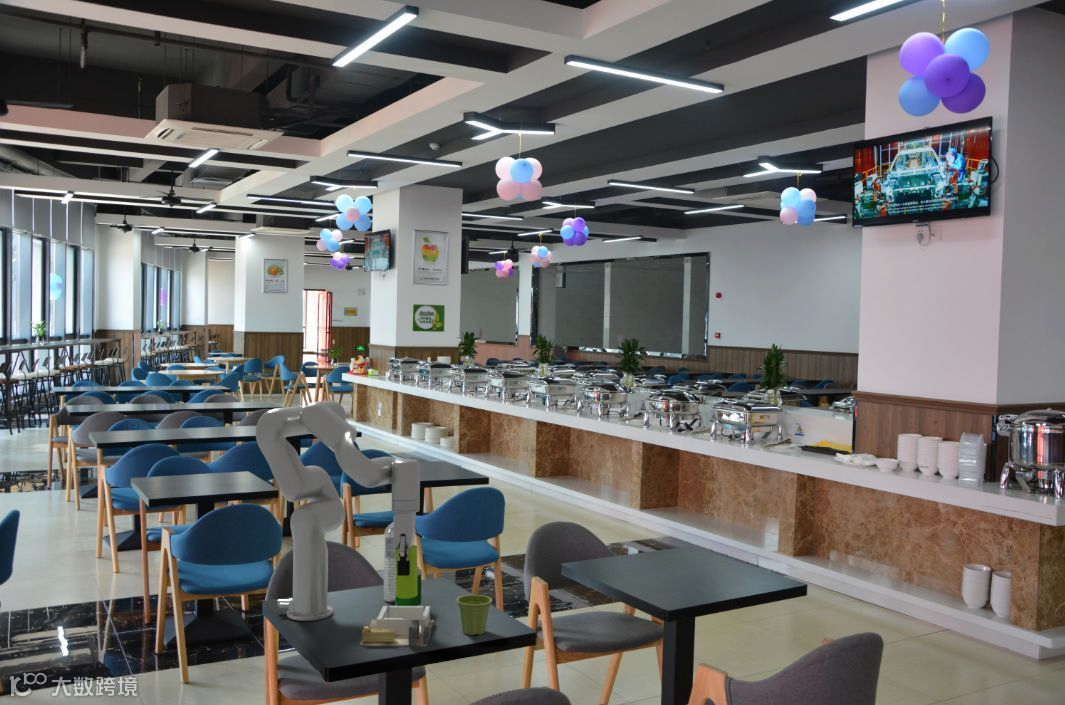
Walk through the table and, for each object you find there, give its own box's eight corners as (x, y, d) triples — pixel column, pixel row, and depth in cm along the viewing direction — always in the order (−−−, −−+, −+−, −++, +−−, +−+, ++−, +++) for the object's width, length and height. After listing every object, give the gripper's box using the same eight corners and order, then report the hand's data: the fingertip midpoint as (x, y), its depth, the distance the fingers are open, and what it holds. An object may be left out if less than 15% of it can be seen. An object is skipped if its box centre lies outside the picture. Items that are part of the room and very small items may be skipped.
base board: (358, 647, 213) (359, 627, 213) (372, 621, 234) (372, 602, 234) (427, 647, 214) (427, 627, 214) (434, 621, 235) (435, 603, 235)
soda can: (423, 605, 249) (424, 565, 249) (417, 613, 242) (418, 571, 242) (398, 604, 250) (399, 564, 250) (392, 612, 243) (392, 570, 243)
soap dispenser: (388, 597, 227) (387, 523, 226) (405, 590, 232) (405, 518, 232) (404, 601, 223) (404, 526, 223) (421, 594, 229) (421, 521, 229)
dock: (376, 634, 222) (376, 619, 222) (383, 620, 234) (383, 605, 234) (425, 634, 222) (425, 619, 222) (429, 620, 234) (430, 606, 234)
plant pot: (468, 624, 233) (468, 592, 233) (497, 629, 229) (498, 597, 229) (449, 633, 225) (450, 601, 225) (479, 639, 220) (480, 606, 220)
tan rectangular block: (362, 641, 215) (362, 628, 215) (363, 638, 218) (363, 625, 218) (393, 641, 215) (393, 628, 215) (394, 638, 218) (395, 625, 218)
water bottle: (399, 595, 260) (400, 514, 260) (410, 600, 254) (411, 517, 255) (379, 599, 255) (380, 516, 255) (390, 604, 250) (392, 520, 250)
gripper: (396, 500, 237) (395, 564, 237) (387, 511, 219) (386, 580, 219) (422, 500, 237) (422, 564, 237) (416, 511, 220) (415, 580, 220)
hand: (405, 571), depth 228 cm, fingers closed on soap dispenser, 6 cm apart
